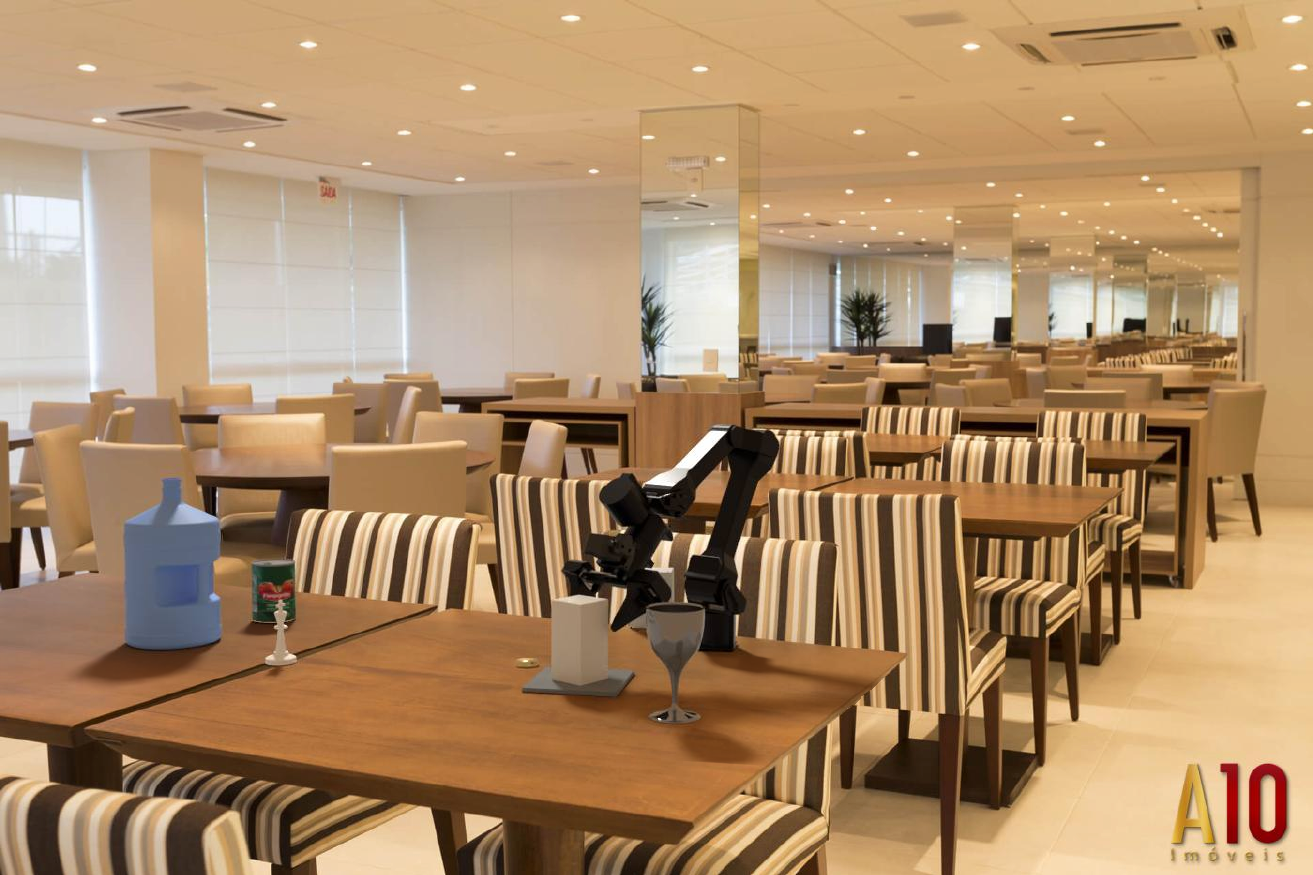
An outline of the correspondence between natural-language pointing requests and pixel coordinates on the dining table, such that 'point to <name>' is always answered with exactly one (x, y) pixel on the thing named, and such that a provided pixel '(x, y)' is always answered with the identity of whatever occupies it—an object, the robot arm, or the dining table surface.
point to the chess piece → (280, 640)
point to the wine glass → (675, 648)
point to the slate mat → (598, 688)
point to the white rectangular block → (579, 639)
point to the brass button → (527, 662)
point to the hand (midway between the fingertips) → (589, 626)
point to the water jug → (171, 575)
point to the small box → (669, 578)
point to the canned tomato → (273, 588)
